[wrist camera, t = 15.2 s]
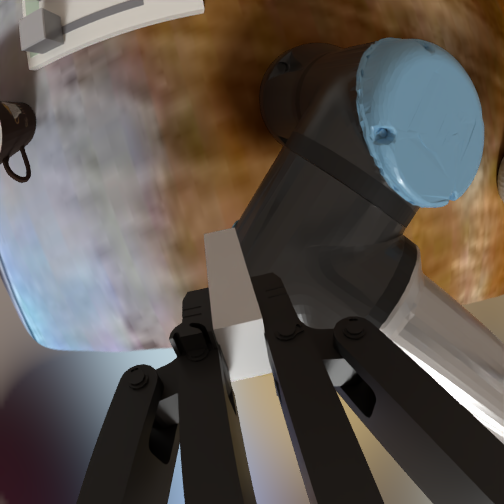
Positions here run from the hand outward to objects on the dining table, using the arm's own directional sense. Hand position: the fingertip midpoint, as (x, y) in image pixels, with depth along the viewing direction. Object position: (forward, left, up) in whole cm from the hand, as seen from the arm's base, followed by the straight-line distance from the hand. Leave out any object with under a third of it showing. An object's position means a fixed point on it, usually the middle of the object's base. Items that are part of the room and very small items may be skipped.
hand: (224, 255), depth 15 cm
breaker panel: (+8, -25, -24) cm, 36 cm away
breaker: (+15, -21, -22) cm, 34 cm away
